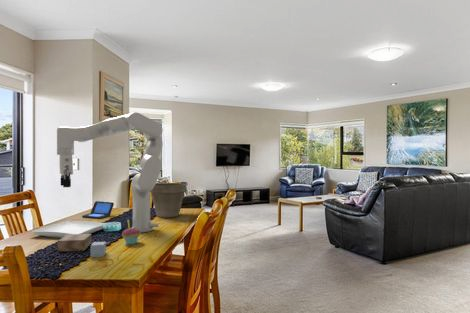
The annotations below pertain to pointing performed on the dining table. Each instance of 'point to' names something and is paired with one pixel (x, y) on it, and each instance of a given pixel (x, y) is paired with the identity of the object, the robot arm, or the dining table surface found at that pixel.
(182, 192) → the plant pot
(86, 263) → the dining table surface
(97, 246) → the slate block
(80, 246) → the walnut base
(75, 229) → the square plate
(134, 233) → the cupcake
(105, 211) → the handheld game console
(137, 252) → the dining table surface
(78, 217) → the dining table surface
